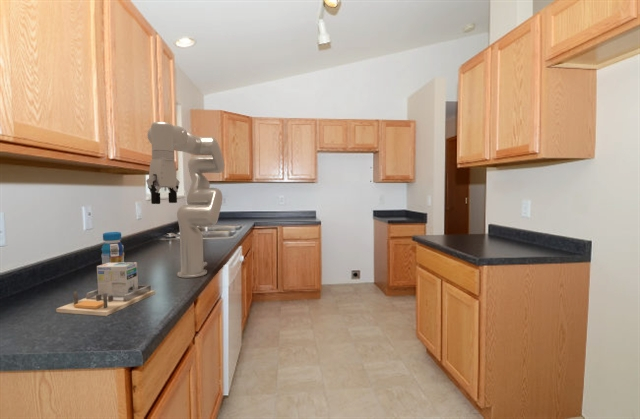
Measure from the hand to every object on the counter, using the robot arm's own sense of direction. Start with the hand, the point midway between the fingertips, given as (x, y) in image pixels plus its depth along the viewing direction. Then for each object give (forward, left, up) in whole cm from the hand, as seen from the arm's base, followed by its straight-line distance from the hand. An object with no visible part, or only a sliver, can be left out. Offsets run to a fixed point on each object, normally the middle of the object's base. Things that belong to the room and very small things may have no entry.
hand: (164, 203), depth 122 cm
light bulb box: (+10, -12, -32) cm, 36 cm away
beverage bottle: (-13, -35, -34) cm, 50 cm away
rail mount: (+13, -12, -33) cm, 38 cm away
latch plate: (+22, -12, -32) cm, 40 cm away
